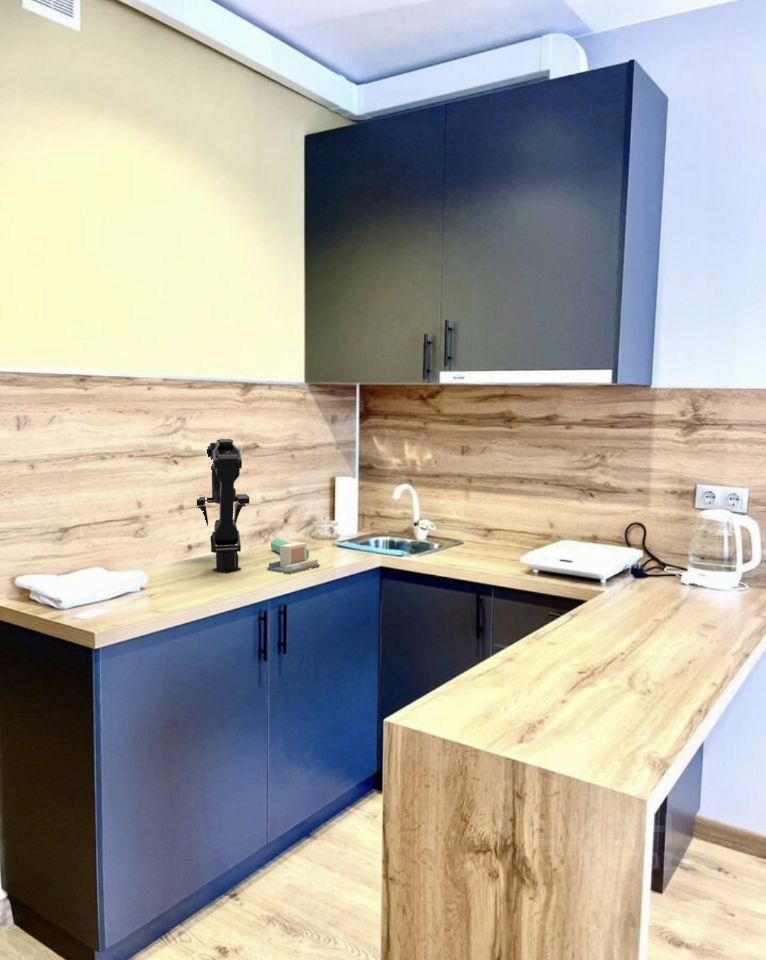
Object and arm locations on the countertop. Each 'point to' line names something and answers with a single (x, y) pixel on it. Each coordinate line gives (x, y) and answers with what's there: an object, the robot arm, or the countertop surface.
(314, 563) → the shallow grey tray
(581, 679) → the countertop surface
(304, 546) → the product box
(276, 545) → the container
